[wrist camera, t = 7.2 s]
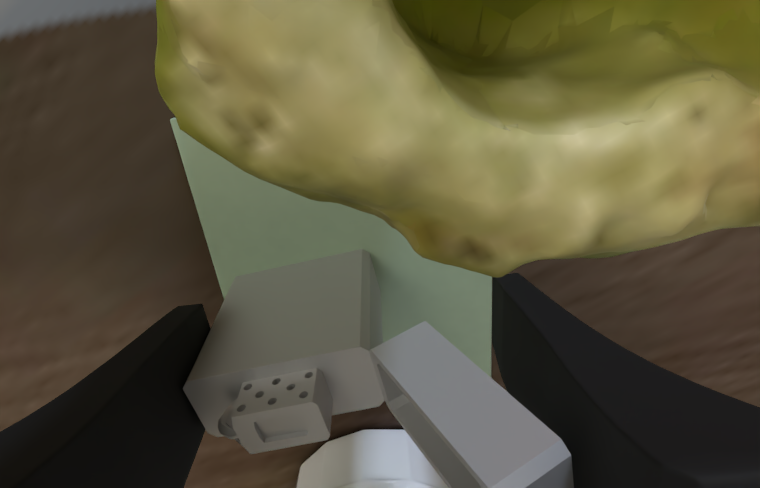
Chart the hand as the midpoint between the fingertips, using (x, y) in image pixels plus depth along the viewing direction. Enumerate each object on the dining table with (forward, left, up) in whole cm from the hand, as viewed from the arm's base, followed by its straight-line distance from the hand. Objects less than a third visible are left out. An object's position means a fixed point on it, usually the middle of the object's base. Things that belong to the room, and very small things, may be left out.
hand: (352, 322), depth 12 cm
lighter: (0, 0, -2) cm, 2 cm away
